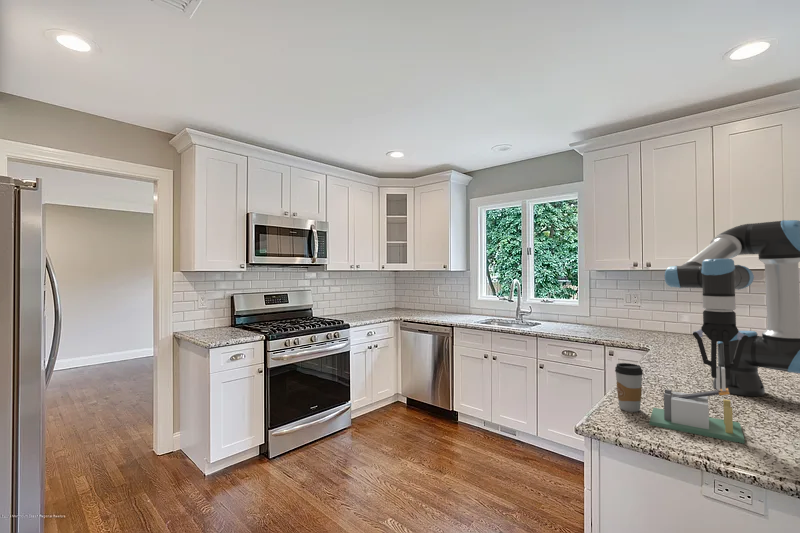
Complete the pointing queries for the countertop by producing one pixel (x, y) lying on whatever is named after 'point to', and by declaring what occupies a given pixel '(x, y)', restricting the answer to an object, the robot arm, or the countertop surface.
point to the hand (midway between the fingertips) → (721, 389)
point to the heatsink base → (710, 433)
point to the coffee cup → (629, 386)
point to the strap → (703, 394)
